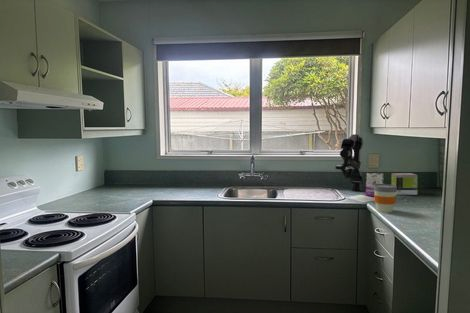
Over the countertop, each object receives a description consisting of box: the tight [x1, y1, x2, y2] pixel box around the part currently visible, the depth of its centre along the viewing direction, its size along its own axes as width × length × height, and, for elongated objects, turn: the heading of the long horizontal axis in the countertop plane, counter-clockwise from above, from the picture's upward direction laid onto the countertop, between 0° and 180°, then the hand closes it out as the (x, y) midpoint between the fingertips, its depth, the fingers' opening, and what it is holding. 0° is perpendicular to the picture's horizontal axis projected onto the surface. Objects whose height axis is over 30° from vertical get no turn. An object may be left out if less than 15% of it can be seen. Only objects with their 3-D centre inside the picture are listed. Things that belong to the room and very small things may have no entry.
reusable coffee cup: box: [373, 183, 397, 214], centre depth 196 cm, size 13×13×15 cm
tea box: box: [390, 172, 419, 196], centre depth 244 cm, size 15×10×15 cm
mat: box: [344, 194, 375, 203], centre depth 228 cm, size 16×16×1 cm
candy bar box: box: [365, 172, 384, 198], centre depth 234 cm, size 11×5×16 cm, turn 62°
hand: (347, 178), depth 233 cm, fingers open, 2 cm apart
